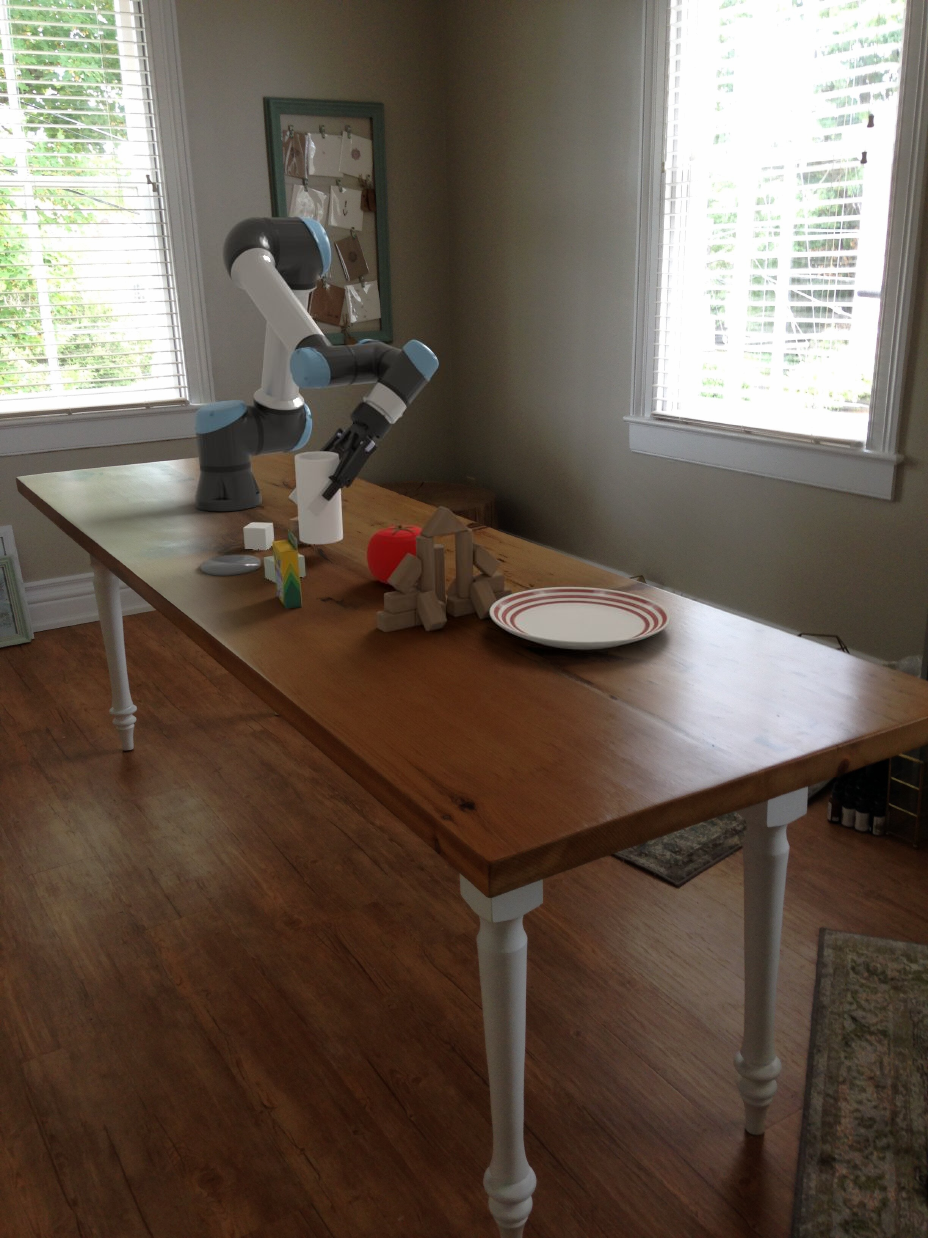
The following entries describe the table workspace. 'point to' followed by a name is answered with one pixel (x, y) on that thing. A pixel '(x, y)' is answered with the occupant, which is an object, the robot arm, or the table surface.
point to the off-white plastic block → (258, 536)
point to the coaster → (230, 565)
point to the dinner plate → (579, 617)
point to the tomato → (390, 550)
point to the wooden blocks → (441, 579)
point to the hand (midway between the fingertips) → (302, 506)
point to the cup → (309, 481)
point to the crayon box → (287, 572)
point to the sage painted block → (271, 567)
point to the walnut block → (296, 530)
